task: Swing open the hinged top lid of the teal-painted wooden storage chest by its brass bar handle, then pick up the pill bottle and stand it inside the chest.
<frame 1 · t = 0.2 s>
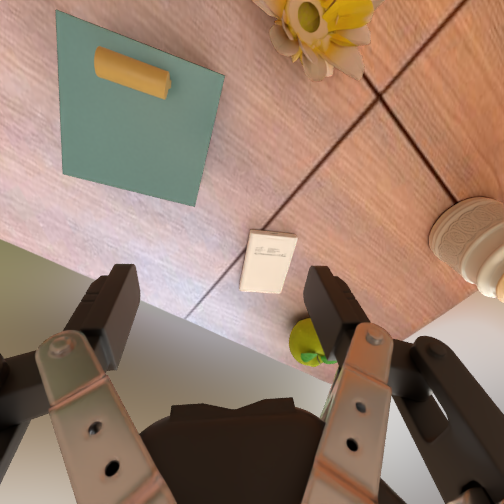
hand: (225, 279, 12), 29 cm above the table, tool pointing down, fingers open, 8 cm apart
hard drive: (265, 260, 48), on the table
lid: (134, 130, 24), point 11 cm above the table, hinge at 0.0°
jar: (460, 227, 49), on the table
decorative flower: (310, 16, 30), on the table
fruit: (304, 323, 59), on the table
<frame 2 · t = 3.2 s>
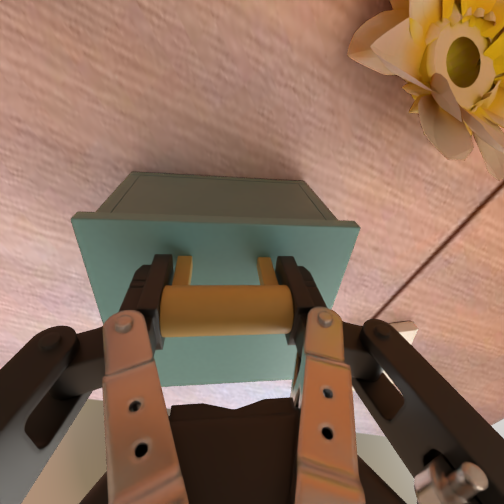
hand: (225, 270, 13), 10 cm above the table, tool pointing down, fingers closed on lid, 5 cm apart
hard drive: (370, 352, 37), on the table
chest: (220, 244, 24), on the table
lid: (223, 347, 15), point 11 cm above the table, hinge at 0.0°, touching gripper
decorative flower: (445, 50, 18), on the table
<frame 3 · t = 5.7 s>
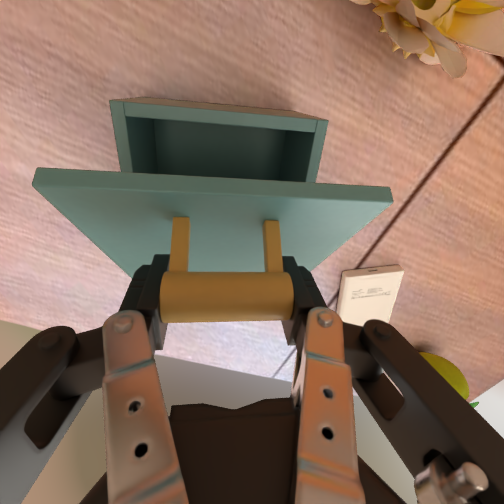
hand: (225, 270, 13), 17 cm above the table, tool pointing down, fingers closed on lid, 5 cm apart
hard drive: (362, 300, 39), on the table
chest: (220, 174, 27), on the table
lid: (223, 284, 15), point 15 cm above the table, hinge at 37.9°, touching gripper
fruit: (412, 357, 49), on the table
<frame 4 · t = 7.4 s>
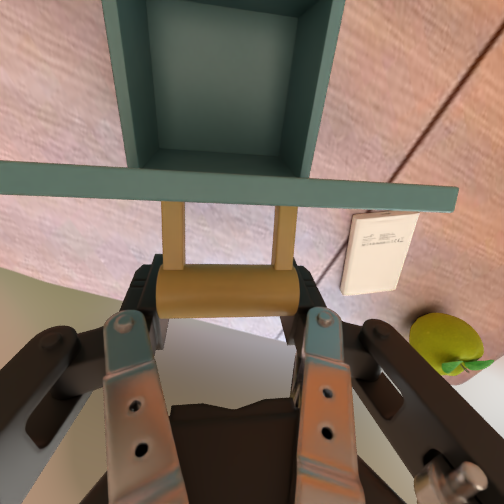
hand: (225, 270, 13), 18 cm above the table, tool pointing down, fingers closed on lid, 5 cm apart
hard drive: (372, 251, 37), on the table
chest: (222, 88, 24), on the table
lid: (225, 230, 14), point 16 cm above the table, hinge at 71.3°, touching gripper
fruit: (422, 320, 47), on the table
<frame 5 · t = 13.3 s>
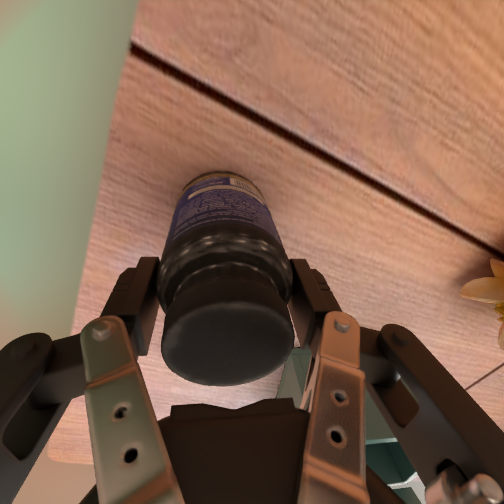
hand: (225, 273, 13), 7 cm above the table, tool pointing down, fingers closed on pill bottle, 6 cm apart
chest: (334, 378, 32), on the table
pill bottle: (222, 212, 18), on the table, touching gripper
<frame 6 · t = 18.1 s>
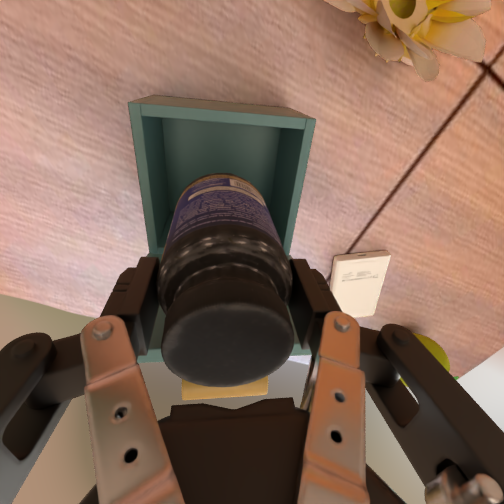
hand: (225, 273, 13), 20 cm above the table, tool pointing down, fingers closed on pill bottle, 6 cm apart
hard drive: (352, 283, 43), on the table
chest: (222, 165, 30), on the table
lid: (223, 316, 20), point 16 cm above the table, hinge at 75.8°
fruit: (399, 337, 52), on the table
pill bottle: (222, 213, 18), point 13 cm above the table, touching gripper
when the fingers open (7 cm above the table, at t = 21.6 s): pill bottle stays where it is, resting on chest.
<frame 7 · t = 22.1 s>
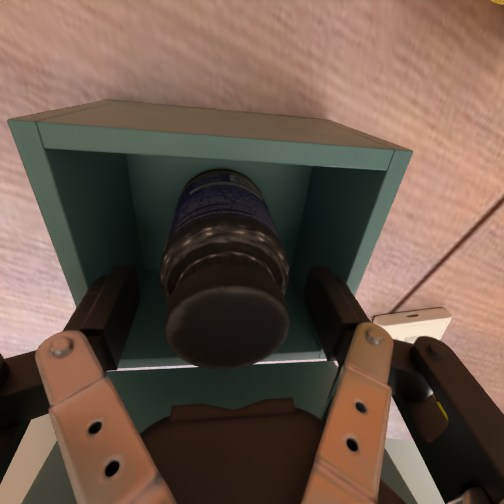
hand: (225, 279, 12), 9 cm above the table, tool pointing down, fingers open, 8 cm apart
hard drive: (393, 345, 32), on the table
chest: (222, 205, 20), on the table
pill bottle: (222, 208, 19), point 1 cm above the table, touching chest
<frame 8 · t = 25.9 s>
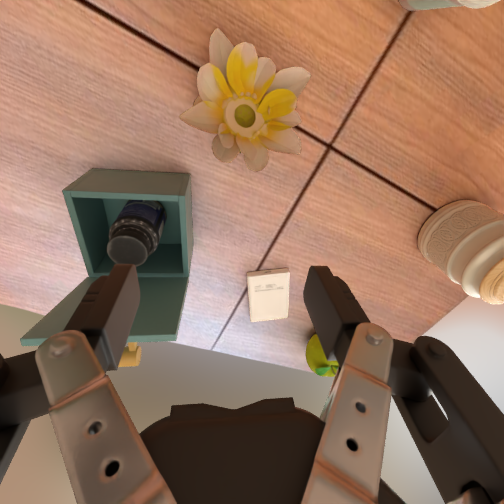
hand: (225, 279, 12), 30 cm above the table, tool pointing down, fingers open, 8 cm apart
hard drive: (267, 292, 54), on the table
chest: (148, 210, 41), on the table
lid: (126, 319, 32), point 16 cm above the table, hinge at 75.8°
jar: (448, 229, 51), on the table
decorative flower: (249, 106, 35), on the table
fruit: (319, 335, 64), on the table
pill bottle: (147, 212, 41), point 1 cm above the table, touching chest
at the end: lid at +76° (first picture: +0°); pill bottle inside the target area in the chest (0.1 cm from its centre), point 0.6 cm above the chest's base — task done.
